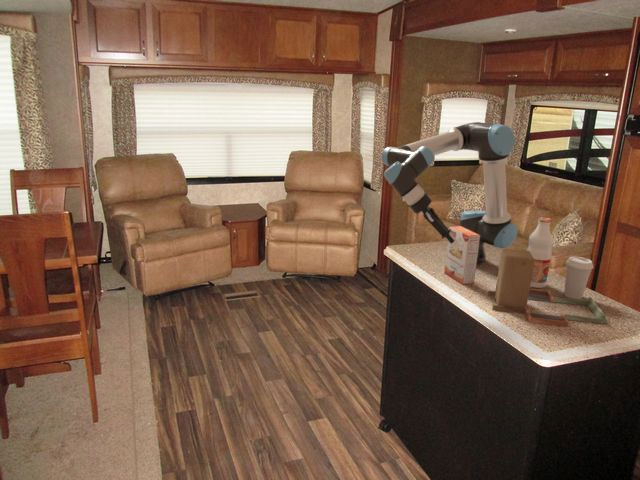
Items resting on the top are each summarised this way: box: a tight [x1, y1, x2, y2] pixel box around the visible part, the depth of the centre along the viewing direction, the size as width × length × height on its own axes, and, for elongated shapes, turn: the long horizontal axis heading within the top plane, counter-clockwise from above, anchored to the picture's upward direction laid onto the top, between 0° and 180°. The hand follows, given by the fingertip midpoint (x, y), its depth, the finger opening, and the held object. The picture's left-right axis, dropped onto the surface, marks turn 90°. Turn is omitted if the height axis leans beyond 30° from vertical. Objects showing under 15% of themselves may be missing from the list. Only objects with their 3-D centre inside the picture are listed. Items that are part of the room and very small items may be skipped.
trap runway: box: [487, 288, 607, 328], centre depth 181 cm, size 29×37×3 cm
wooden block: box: [494, 248, 535, 309], centre depth 181 cm, size 10×10×20 cm
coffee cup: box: [563, 256, 594, 300], centre depth 191 cm, size 10×10×15 cm
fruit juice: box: [526, 216, 554, 289], centre depth 200 cm, size 9×9×28 cm
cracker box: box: [444, 225, 480, 285], centre depth 204 cm, size 14×6×21 cm, turn 18°
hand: (458, 248), depth 182 cm, fingers closed
